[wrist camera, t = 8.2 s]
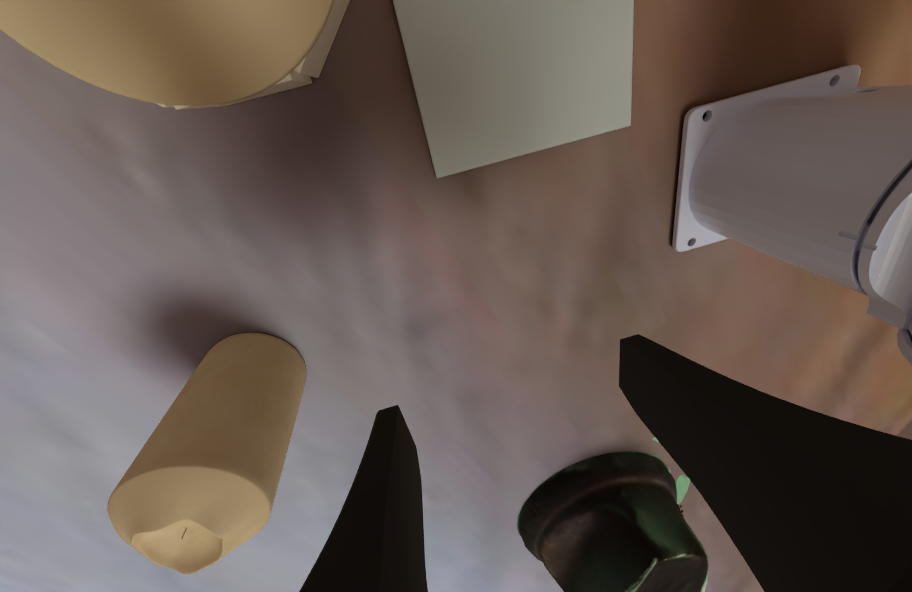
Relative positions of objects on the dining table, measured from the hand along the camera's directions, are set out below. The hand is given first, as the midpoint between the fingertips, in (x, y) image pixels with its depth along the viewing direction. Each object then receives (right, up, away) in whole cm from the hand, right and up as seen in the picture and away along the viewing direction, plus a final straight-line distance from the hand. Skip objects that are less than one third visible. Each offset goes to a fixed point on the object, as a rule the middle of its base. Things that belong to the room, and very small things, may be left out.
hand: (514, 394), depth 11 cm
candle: (-14, -1, +10) cm, 17 cm away
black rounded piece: (+12, -17, +25) cm, 32 cm away
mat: (+1, +15, +4) cm, 15 cm away
